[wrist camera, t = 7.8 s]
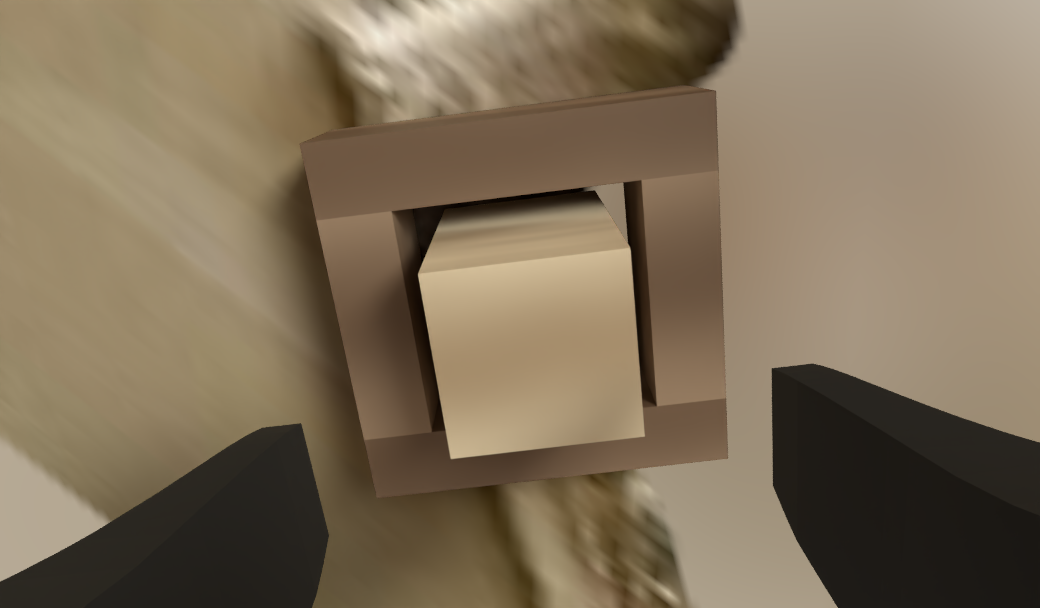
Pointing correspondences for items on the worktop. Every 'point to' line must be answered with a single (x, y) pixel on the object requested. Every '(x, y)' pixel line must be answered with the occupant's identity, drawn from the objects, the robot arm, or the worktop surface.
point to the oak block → (532, 325)
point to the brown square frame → (510, 172)
